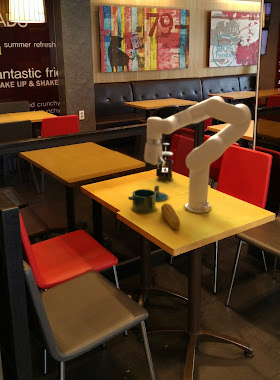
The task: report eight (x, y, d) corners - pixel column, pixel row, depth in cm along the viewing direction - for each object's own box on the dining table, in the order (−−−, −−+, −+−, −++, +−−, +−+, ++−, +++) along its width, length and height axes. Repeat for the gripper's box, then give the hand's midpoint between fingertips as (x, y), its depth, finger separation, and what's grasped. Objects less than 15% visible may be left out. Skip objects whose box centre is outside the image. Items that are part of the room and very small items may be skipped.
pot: (164, 209, 198) (164, 193, 196) (135, 216, 189) (135, 200, 187) (151, 202, 207) (151, 186, 205) (123, 208, 198) (123, 192, 197)
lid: (172, 199, 211) (173, 187, 210) (153, 204, 205) (153, 192, 203) (159, 192, 221) (159, 181, 220) (140, 196, 215) (140, 185, 213)
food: (159, 213, 193) (159, 202, 192) (170, 212, 194) (170, 201, 193) (172, 232, 173) (172, 220, 172) (184, 231, 174) (184, 218, 173)
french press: (176, 181, 241) (177, 144, 236) (163, 183, 236) (164, 146, 231) (165, 175, 251) (166, 140, 246) (152, 178, 246) (153, 142, 241)
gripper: (138, 138, 206) (138, 170, 210) (158, 145, 192) (157, 179, 196) (150, 137, 211) (149, 168, 214) (170, 143, 197) (169, 176, 200)
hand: (153, 173), depth 205 cm, fingers open, 9 cm apart
